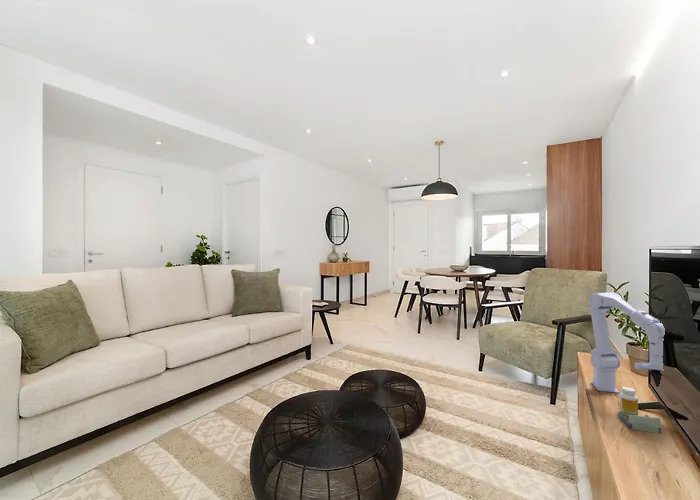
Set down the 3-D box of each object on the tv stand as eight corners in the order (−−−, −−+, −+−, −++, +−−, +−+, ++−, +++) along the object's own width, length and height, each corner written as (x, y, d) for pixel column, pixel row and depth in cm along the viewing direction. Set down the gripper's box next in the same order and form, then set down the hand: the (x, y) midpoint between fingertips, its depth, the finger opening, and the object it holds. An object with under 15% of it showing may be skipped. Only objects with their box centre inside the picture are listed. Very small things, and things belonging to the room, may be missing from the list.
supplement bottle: (641, 418, 120) (641, 392, 120) (625, 416, 121) (625, 391, 121) (632, 410, 125) (631, 386, 125) (616, 409, 126) (616, 385, 126)
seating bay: (619, 416, 122) (618, 403, 121) (647, 420, 118) (647, 407, 118) (629, 428, 113) (629, 415, 113) (660, 433, 110) (660, 419, 110)
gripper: (640, 355, 119) (641, 391, 119) (691, 360, 114) (691, 397, 114) (632, 349, 126) (632, 383, 126) (679, 353, 121) (679, 388, 121)
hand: (660, 389), depth 120 cm, fingers closed
